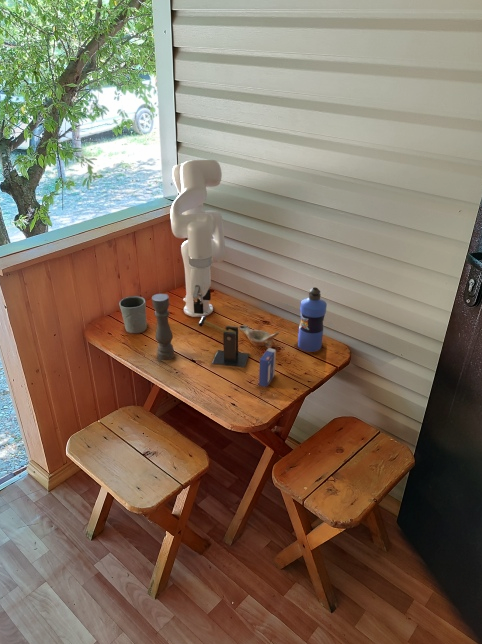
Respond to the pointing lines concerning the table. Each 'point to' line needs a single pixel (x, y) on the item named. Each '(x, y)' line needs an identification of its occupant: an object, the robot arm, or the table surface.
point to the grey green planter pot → (134, 314)
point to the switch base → (231, 350)
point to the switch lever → (213, 325)
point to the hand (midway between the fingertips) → (202, 306)
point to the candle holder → (163, 327)
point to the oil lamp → (258, 336)
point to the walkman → (267, 367)
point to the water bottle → (311, 321)
